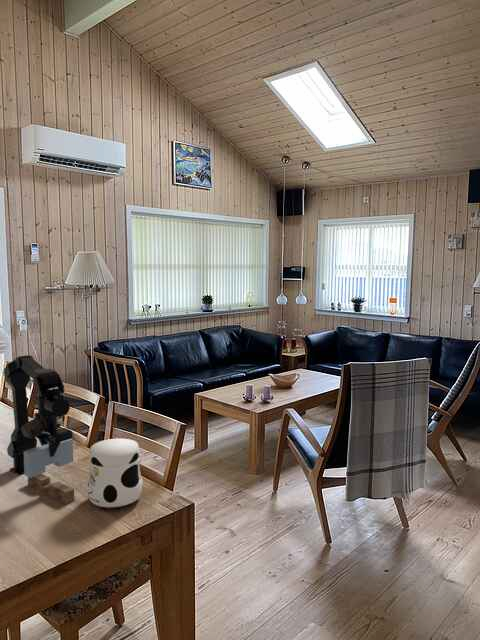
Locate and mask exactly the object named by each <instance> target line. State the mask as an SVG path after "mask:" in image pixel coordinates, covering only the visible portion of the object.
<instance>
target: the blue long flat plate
mask: <svg viewBox="0 0 480 640" xmlns="http://www.w3.org/2000/svg"><path fill="white" fill-rule="evenodd" d="M73 462H74V439H73V438H71V439H68V440H65V441H62V442H60V444H59V446H58V448H57V451H56V453H55V455H54V456H53V457H50V452H49V445H48V444H45V445H42V446H41V445H40V446H37V447H36V448H33V449H30V450H27V451H24V473H23V474H24V476H25V477H27V478H28V477H29V478H31V477H34V476H36V475H39V474H44V473H46V467H47V466H50V465H52V464H53V466H56V467H58V468H60V467H63V466H65V465H69V464H72V463H73Z"/></svg>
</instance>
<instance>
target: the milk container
mask: <svg viewBox="0 0 480 640" xmlns="http://www.w3.org/2000/svg"><path fill="white" fill-rule="evenodd" d="M139 447H140V446H139V443H138V442H137V441H135V440H133V439H129V438H120V437H119V438H110V439H104V440H100V441H98V442H95V443H94V444H92V446H91V447H90V449H89V479H88V482H87V495H88V499H89V501H90V503H92V505H94V506H97V507H98V508H101V509H121V508H124V507H127V506H129V505H132V504H133V503H135V502H136V501H138V500H139V498H140V497H141V495H142V493H143V487H144V486H143V485H144V483H143V477H142V475H141V474H142V473H141V469H140V464H141V463H140V461H141V457H140V448H139Z"/></svg>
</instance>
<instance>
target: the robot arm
mask: <svg viewBox="0 0 480 640" xmlns="http://www.w3.org/2000/svg"><path fill="white" fill-rule="evenodd" d="M3 376H4V378H5V382H6V383H7V385H9V387H10V388H11V395H12V406H13V418H14V419H13V421H14V429H13V431H12V433H11V435H10V442H9V444H8V446H7V448H6V452H7V456H9V457H10V458H11V459H13V467H11V468H9V470H10V472H13V473H15V474H17V475H21V474H25V473H24V451H27V450H30V449H33V448H36V447H38V446H37V445H38V441H39V443H40V446H42V445H45V444H48V445H49V452H50V457H53V456H54V455H55V453H56V451H57V448H58V446H59V444H60V442H62V441H65V440H68V439H73V437H74V435H73V431H72V430H71V429H69V428H65V427H62V428H61V423H59V422H58V418H63V417H65V416H66V415H67V414H68V413H69V411H70V408H71V407H70V406H71V405H70V403H69V401H68V400H67V399H65V398H64V395H63V394H64V393H65V385H64V383H63V380H62V379H61V378H62V377H61V376H60V374H59V373H58V372H57V370H55V369H51V368H45V367H44V366H42V365H41V364H40V363H38V362H37V360H36V359H34V357H33V355H29V354H27V355H26V354H25V355H20V356H18V357H17V356H16V357H15V358H14V360H12V361H10V362H9V363H7V364H6V366H5V367H4V369H3ZM31 379H32V386H33V388H34V389H35V391H36V392H35V394H36V395H37V410H38V412H35V414H34V419H31V420H29V419H30V418H29V407H28V397H27V386H28V384H29V383H30V381H31Z"/></svg>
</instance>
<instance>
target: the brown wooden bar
mask: <svg viewBox="0 0 480 640" xmlns="http://www.w3.org/2000/svg"><path fill="white" fill-rule="evenodd" d="M27 486H30V487H32V488H33V489H35V490H37V491H38V492H39V491H40V492H42V493H44V494H45V495H47V496H49V497H51V498H53V499H55V500H57V501H59V502H61V503H62V504H65V505H69V504H70V503H73V502H75V488H73V487H71V486H69V485H66V484H65V483H62V482H60V481H57V482H54V483H51V477H50V476H47V475H45V474H44V473H42V474H39V475H36V476H34V477H31V478H29V477H27Z"/></svg>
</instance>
